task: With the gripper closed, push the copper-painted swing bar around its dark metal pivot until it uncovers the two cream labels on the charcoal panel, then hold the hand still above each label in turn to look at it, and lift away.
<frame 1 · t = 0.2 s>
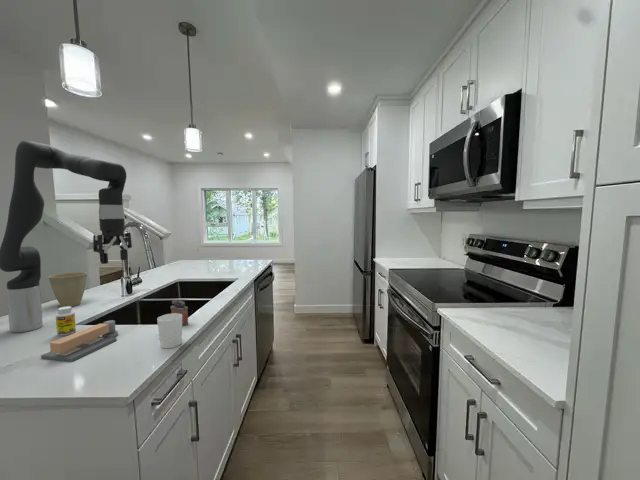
hand: (114, 261, 108), 29 cm above the counter, tool pointing down, fingers open, 8 cm apart
supplement bottle: (66, 333, 114), on the counter
lighter: (179, 324, 124), on the counter
plant pot: (70, 305, 151), on the counter
swing bar: (87, 336, 103), point 4 cm above the counter, hinge at 0.0°
white cup: (171, 345, 104), on the counter
label panel: (81, 348, 101), on the counter
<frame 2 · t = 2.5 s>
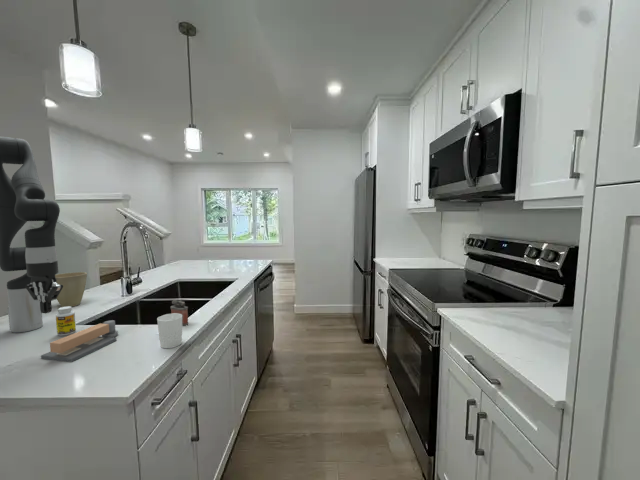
hand: (46, 312, 97), 14 cm above the counter, tool pointing down, fingers closed
nothing on the counter moved.
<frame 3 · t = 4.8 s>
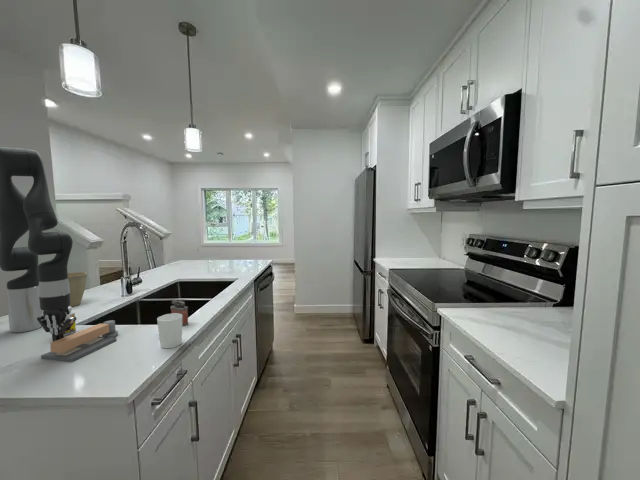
hand: (58, 344, 97), 3 cm above the counter, tool pointing down, fingers closed
swing bar: (87, 336, 103), point 4 cm above the counter, hinge at 0.4°, touching gripper
everything else where it was.
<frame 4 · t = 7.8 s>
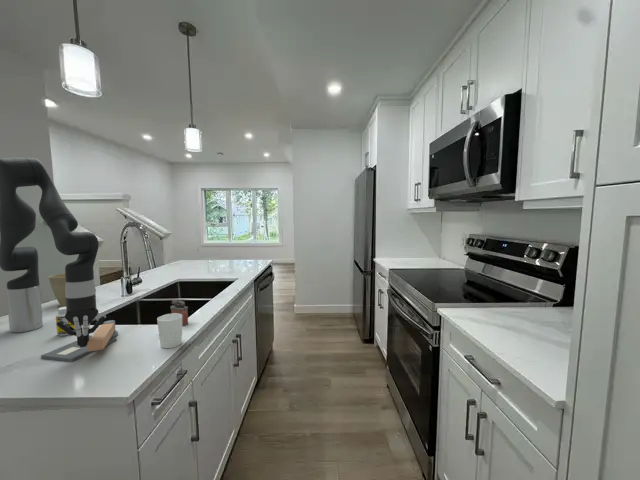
hand: (83, 346, 96), 3 cm above the counter, tool pointing down, fingers closed
swing bar: (103, 335, 104), point 4 cm above the counter, hinge at 36.1°, touching gripper
everything else where it was.
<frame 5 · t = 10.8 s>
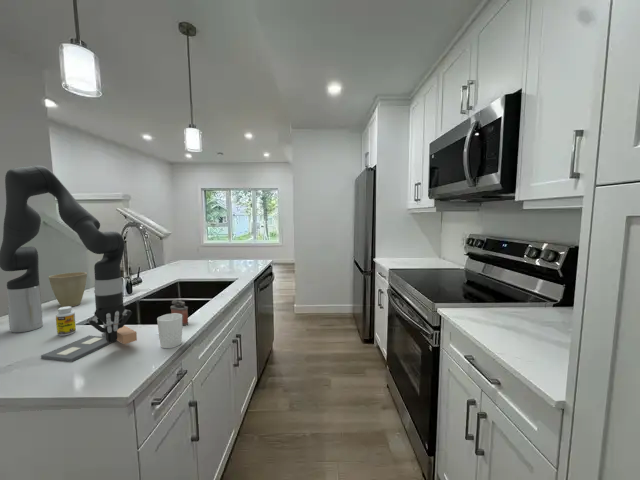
hand: (112, 342, 99), 3 cm above the counter, tool pointing down, fingers closed
swing bar: (118, 332, 106), point 4 cm above the counter, hinge at 64.6°, touching gripper
everything else where it was.
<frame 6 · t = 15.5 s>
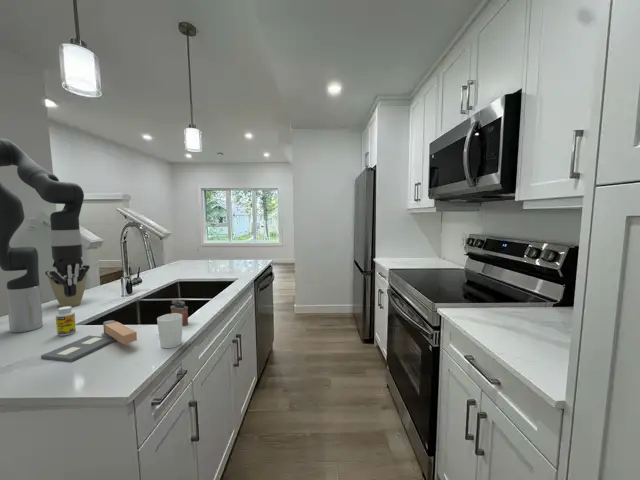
hand: (70, 296, 97), 19 cm above the counter, tool pointing down, fingers closed
swing bar: (118, 332, 106), point 4 cm above the counter, hinge at 64.6°
everything else where it was.
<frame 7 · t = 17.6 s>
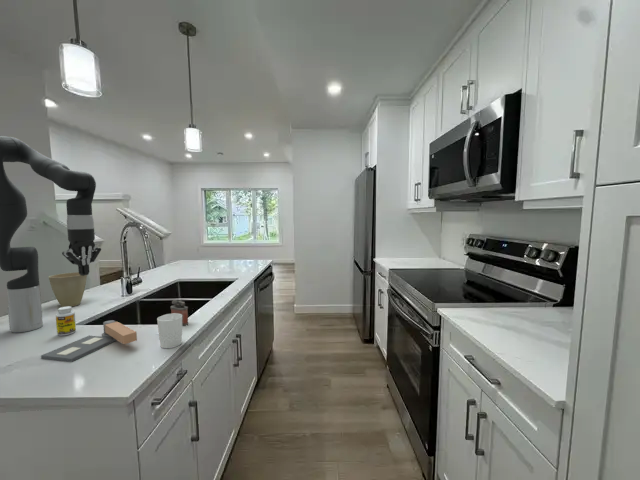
hand: (84, 275, 107), 24 cm above the counter, tool pointing down, fingers closed
nothing on the counter moved.
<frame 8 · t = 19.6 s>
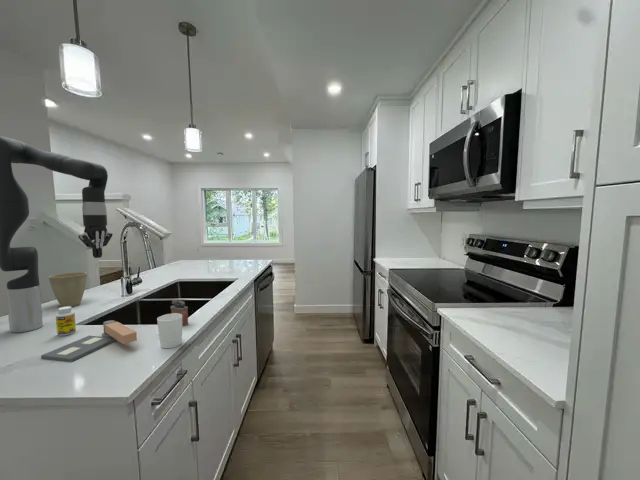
hand: (97, 257, 117), 29 cm above the counter, tool pointing down, fingers closed
nothing on the counter moved.
at the end: swing bar at +65° (first picture: +0°) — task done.
